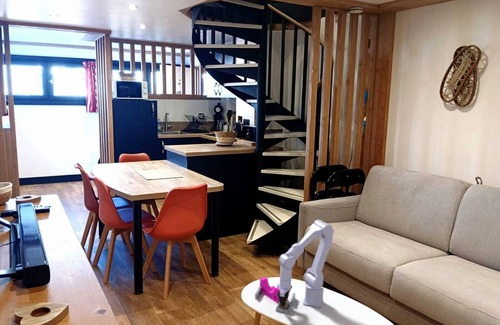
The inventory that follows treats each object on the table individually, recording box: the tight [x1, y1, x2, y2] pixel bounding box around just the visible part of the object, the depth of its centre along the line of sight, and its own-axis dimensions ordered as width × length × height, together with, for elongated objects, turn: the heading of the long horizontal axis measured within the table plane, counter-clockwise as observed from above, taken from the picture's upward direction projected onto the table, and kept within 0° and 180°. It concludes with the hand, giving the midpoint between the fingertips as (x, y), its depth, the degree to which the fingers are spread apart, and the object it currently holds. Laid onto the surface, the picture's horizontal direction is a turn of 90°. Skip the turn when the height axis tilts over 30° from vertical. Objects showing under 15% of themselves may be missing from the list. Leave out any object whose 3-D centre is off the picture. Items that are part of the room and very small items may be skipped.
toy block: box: [259, 276, 280, 304], centre depth 212 cm, size 15×6×8 cm, turn 38°
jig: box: [254, 286, 296, 314], centre depth 206 cm, size 20×16×3 cm
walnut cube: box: [279, 298, 289, 310], centre depth 200 cm, size 4×4×4 cm
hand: (284, 302), depth 200 cm, fingers open, 6 cm apart
